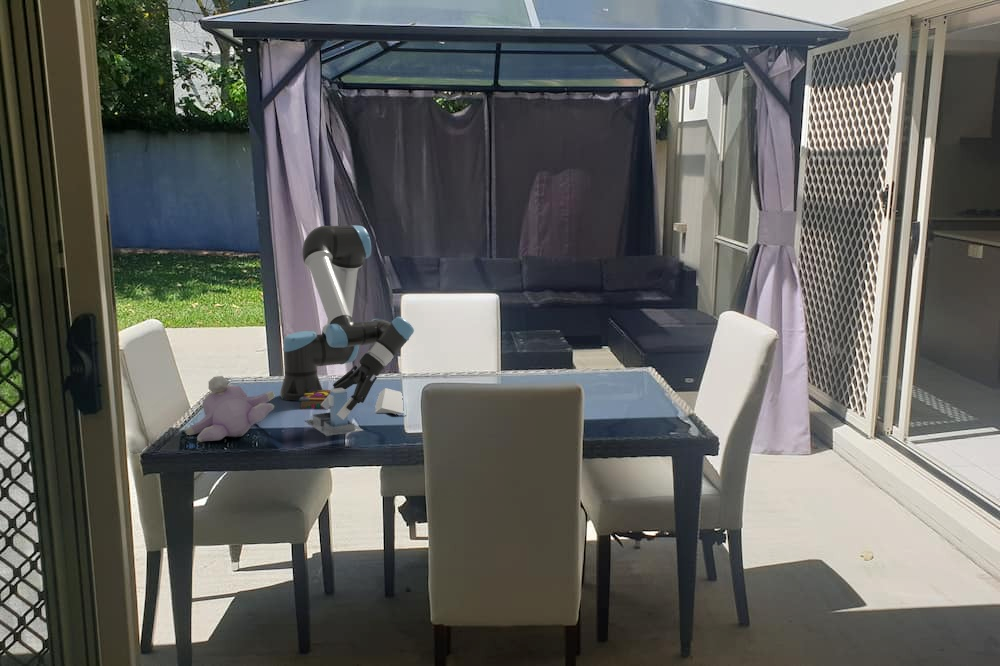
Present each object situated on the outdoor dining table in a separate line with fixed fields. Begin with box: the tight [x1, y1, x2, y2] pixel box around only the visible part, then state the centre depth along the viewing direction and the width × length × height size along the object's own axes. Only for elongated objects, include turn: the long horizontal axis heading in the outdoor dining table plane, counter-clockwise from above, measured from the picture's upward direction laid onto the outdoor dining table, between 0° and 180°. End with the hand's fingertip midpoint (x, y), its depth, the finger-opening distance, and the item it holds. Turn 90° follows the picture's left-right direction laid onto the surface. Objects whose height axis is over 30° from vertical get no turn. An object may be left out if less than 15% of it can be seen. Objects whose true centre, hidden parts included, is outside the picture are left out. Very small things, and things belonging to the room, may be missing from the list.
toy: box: [184, 375, 276, 443], centre depth 271 cm, size 29×17×30 cm
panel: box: [304, 411, 364, 437], centre depth 275 cm, size 20×12×3 cm, turn 32°
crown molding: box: [374, 387, 404, 415], centre depth 305 cm, size 29×12×4 cm, turn 5°
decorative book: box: [298, 389, 331, 410], centre depth 303 cm, size 11×16×5 cm
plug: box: [328, 388, 348, 426], centre depth 269 cm, size 4×5×13 cm
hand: (331, 412), depth 268 cm, fingers open, 13 cm apart
